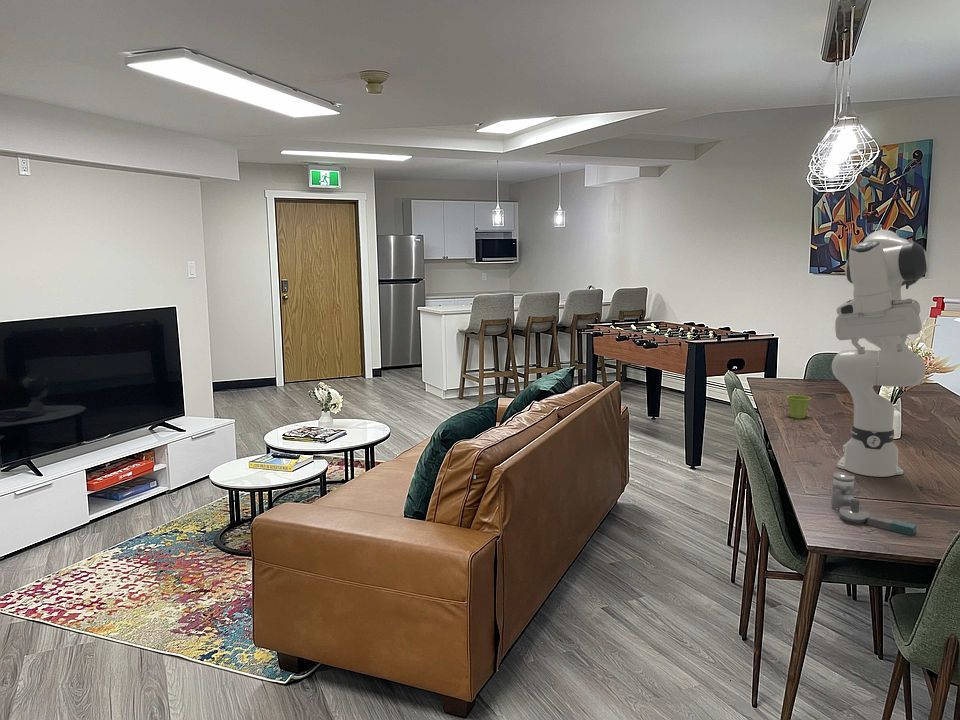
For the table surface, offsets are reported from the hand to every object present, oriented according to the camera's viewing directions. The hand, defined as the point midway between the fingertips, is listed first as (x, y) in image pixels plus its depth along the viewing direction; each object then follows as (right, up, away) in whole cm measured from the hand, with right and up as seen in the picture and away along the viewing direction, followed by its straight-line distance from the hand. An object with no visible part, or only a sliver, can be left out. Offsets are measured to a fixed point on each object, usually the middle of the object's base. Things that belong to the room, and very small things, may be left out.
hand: (881, 352), depth 192 cm
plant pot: (+27, -27, +110) cm, 117 cm away
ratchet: (-6, -45, -7) cm, 46 cm away
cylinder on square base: (-7, -43, +6) cm, 44 cm away
